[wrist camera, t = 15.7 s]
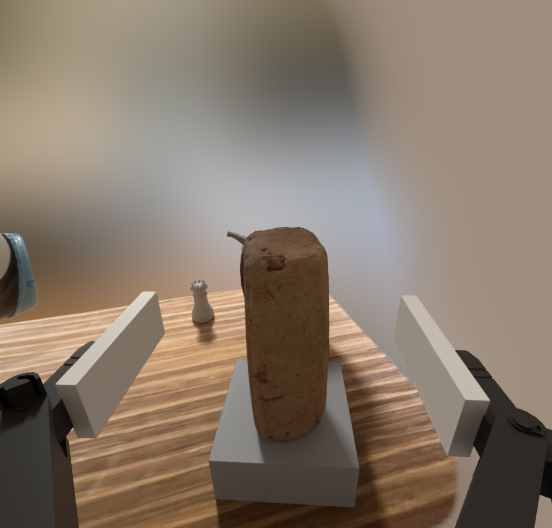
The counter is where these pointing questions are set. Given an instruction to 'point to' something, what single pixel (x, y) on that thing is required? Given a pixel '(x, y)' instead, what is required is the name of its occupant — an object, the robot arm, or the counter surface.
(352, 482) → the grey base block
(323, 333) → the block
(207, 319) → the rook chess piece
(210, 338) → the counter surface
